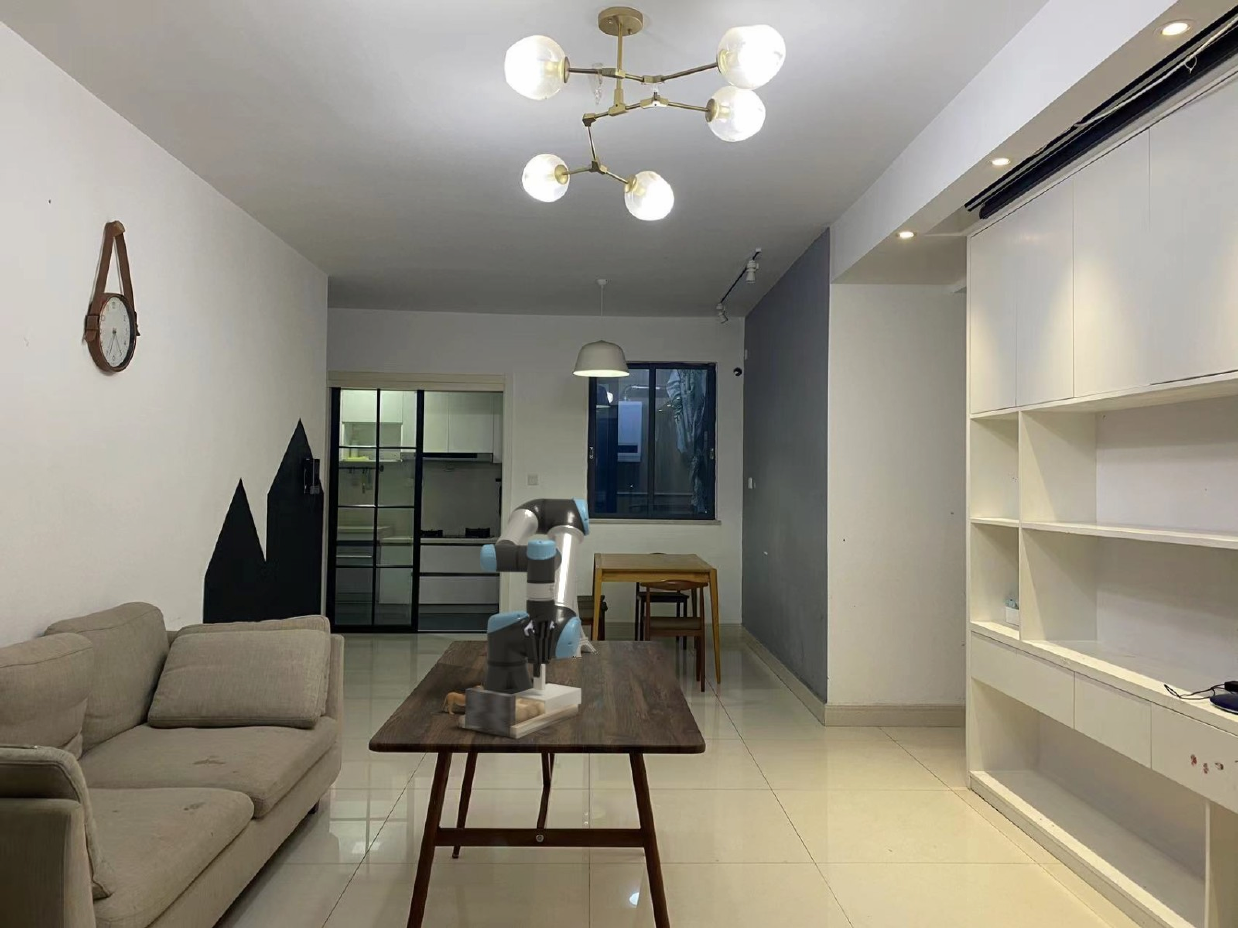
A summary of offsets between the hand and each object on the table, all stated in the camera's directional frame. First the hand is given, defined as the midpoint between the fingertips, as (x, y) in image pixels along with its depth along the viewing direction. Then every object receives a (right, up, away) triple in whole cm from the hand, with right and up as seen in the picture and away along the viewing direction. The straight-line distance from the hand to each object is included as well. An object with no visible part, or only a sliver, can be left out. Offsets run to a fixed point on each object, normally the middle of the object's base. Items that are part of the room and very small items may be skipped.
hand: (539, 689), depth 222 cm
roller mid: (-5, -1, -9) cm, 10 cm away
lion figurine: (-20, -7, -1) cm, 21 cm away
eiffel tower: (+4, -10, +82) cm, 83 cm away
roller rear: (-5, -3, -7) cm, 9 cm away
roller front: (-7, -1, -12) cm, 14 cm away
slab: (+2, -6, +4) cm, 7 cm away
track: (-4, -6, -7) cm, 10 cm away
